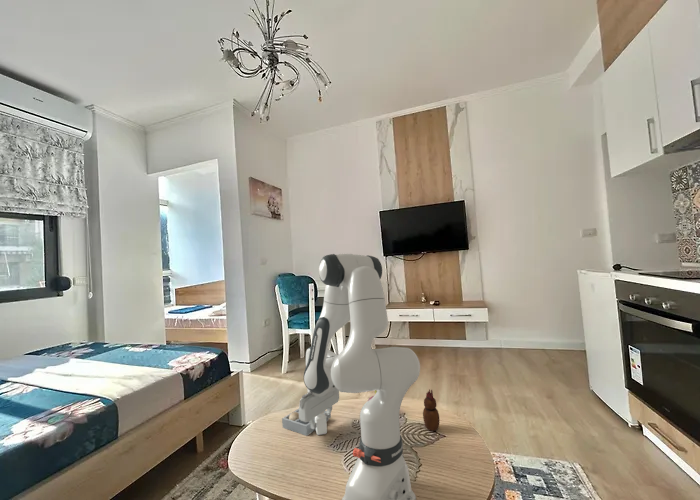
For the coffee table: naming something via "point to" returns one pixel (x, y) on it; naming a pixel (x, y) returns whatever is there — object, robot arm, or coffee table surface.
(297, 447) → the coffee table surface
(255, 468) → the coffee table surface
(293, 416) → the brown ball
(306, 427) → the grey compartment tray
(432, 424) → the wooden figurine
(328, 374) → the robot arm
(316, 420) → the pepper shaker
